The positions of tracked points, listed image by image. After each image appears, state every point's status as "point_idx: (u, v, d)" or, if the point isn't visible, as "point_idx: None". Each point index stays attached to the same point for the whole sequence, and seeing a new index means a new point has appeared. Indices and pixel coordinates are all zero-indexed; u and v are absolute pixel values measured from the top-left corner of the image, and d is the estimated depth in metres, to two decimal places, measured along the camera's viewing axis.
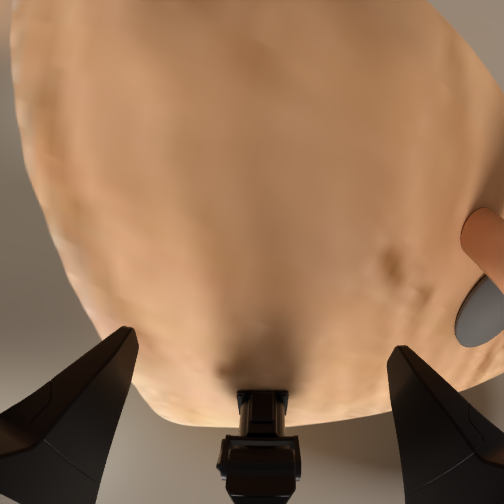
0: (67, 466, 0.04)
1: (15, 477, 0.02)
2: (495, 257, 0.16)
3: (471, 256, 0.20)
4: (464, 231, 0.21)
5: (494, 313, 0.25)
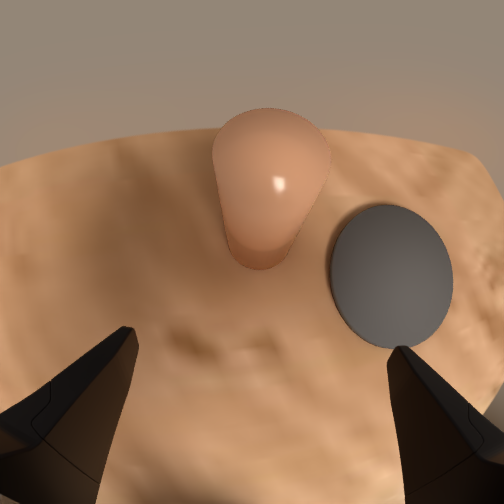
0: (67, 467, 0.04)
1: (14, 477, 0.02)
2: (227, 231, 0.18)
3: (251, 263, 0.21)
4: (232, 254, 0.23)
5: (405, 278, 0.22)
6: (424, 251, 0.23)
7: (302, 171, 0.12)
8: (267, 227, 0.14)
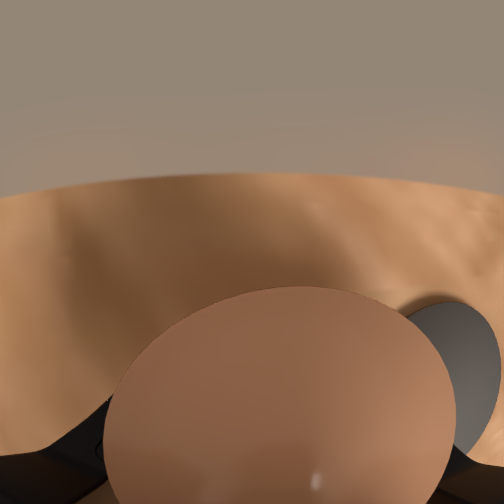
0: None
1: None
2: None
3: None
4: None
5: None
6: (476, 360, 0.14)
7: None
8: None
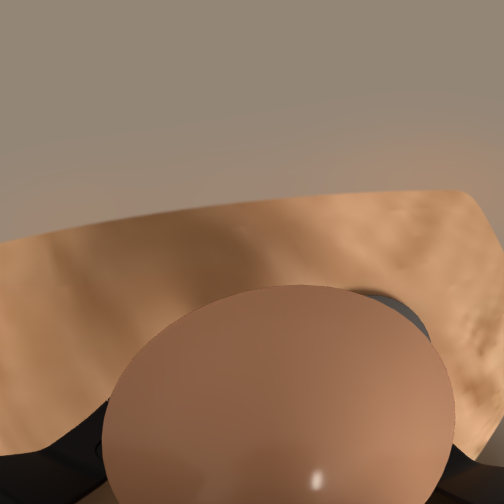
0: None
1: None
2: None
3: None
4: None
5: None
6: None
7: None
8: None
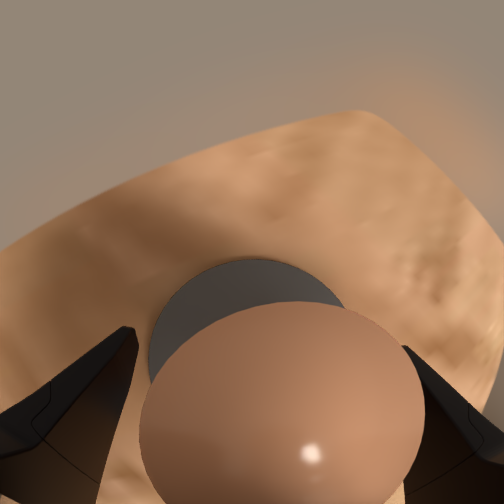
0: (67, 466, 0.04)
1: (15, 477, 0.02)
2: None
3: None
4: None
5: None
6: None
7: (353, 488, 0.04)
8: None
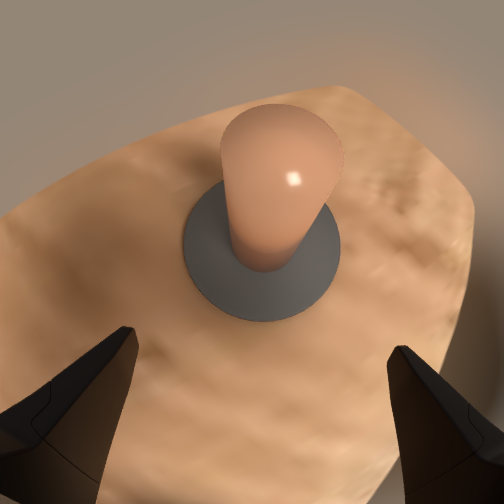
0: (67, 466, 0.04)
1: (15, 477, 0.02)
2: (232, 232, 0.18)
3: (256, 266, 0.21)
4: None
5: None
6: None
7: (314, 169, 0.11)
8: (275, 227, 0.13)
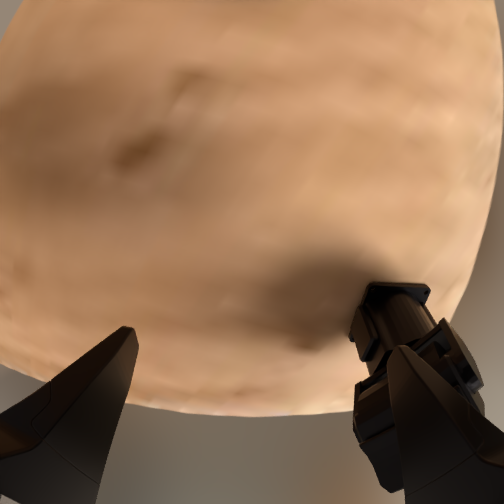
0: (67, 466, 0.04)
1: (15, 477, 0.02)
2: None
3: None
4: None
5: None
6: None
7: None
8: None
